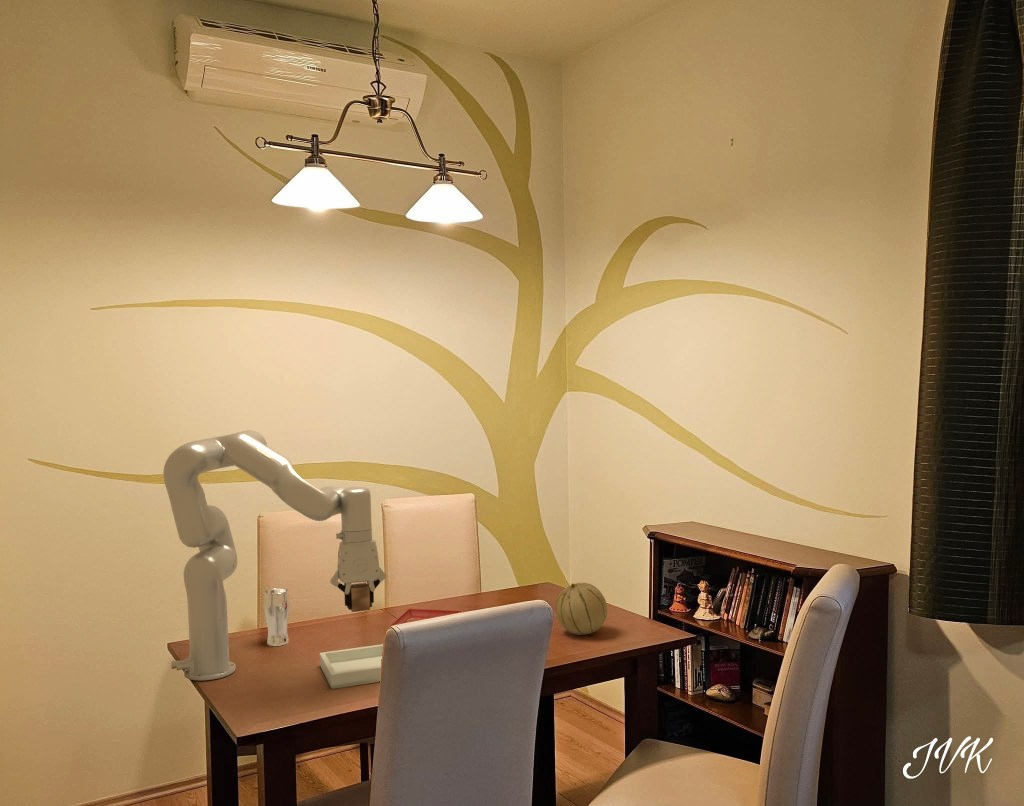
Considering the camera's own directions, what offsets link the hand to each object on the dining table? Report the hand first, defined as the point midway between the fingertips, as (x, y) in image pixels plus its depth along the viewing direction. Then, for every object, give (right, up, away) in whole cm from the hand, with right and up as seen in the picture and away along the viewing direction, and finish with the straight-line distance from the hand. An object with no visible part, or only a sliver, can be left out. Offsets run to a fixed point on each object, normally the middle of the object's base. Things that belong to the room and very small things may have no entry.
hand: (359, 606), depth 225 cm
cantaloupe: (+59, -15, +29) cm, 67 cm away
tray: (0, -17, +1) cm, 17 cm away
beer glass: (-28, -17, +26) cm, 42 cm away
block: (0, -1, 0) cm, 1 cm away
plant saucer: (+14, -16, +38) cm, 43 cm away
